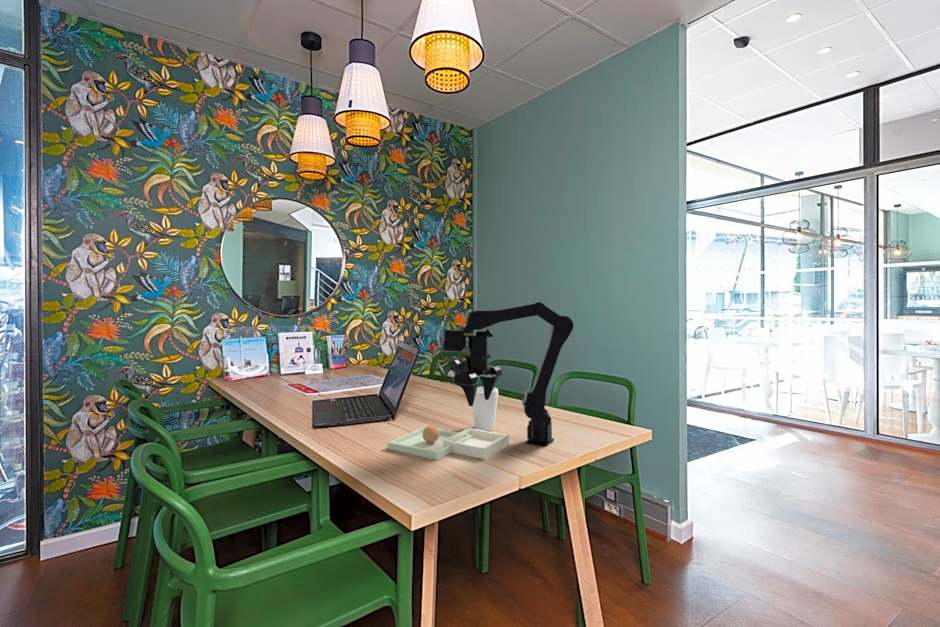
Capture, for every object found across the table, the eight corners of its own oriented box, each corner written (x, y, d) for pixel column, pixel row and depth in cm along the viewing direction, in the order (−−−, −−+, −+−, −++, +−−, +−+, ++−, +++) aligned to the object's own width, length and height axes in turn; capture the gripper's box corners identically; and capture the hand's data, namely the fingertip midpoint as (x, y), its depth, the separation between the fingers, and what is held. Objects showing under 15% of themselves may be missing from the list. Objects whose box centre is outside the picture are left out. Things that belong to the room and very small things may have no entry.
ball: (442, 441, 136) (442, 425, 135) (432, 446, 131) (432, 429, 131) (429, 439, 138) (429, 422, 138) (419, 443, 134) (419, 426, 134)
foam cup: (465, 430, 150) (465, 391, 149) (478, 422, 158) (477, 386, 157) (491, 433, 145) (491, 393, 145) (503, 426, 153) (502, 388, 153)
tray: (472, 441, 138) (472, 435, 137) (436, 460, 122) (436, 452, 122) (425, 432, 147) (425, 426, 147) (387, 448, 132) (387, 442, 132)
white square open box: (508, 444, 134) (508, 434, 134) (484, 459, 122) (484, 448, 122) (469, 437, 142) (469, 427, 142) (443, 450, 130) (443, 440, 130)
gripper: (472, 347, 148) (473, 394, 149) (438, 353, 133) (439, 406, 133) (502, 348, 142) (502, 397, 143) (470, 356, 127) (471, 410, 127)
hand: (479, 402), depth 137 cm, fingers open, 9 cm apart
